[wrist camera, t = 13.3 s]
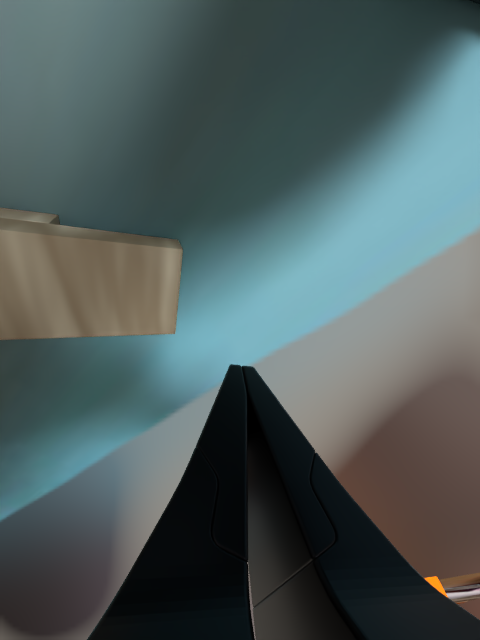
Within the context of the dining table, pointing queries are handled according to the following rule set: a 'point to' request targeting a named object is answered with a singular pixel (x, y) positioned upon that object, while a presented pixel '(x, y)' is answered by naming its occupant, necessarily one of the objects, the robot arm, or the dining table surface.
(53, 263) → the domino
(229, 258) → the dining table surface
